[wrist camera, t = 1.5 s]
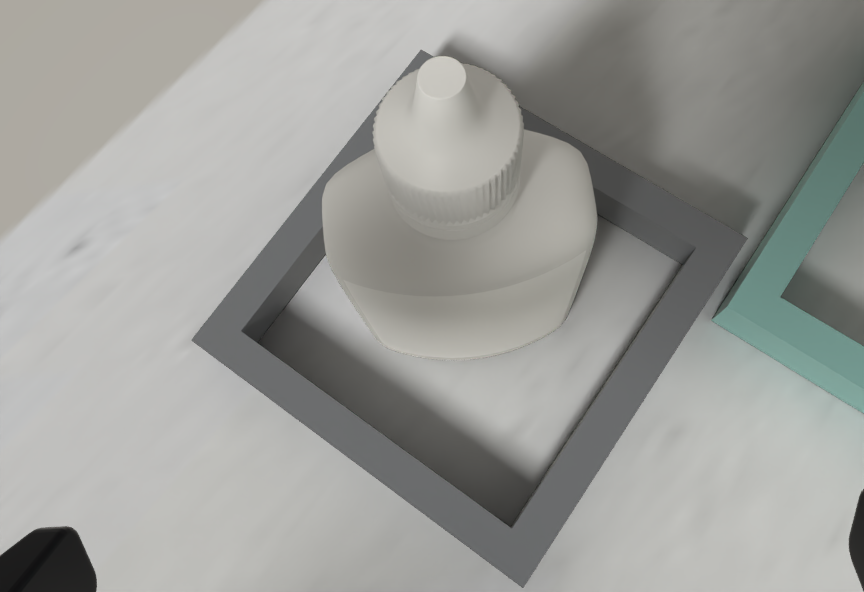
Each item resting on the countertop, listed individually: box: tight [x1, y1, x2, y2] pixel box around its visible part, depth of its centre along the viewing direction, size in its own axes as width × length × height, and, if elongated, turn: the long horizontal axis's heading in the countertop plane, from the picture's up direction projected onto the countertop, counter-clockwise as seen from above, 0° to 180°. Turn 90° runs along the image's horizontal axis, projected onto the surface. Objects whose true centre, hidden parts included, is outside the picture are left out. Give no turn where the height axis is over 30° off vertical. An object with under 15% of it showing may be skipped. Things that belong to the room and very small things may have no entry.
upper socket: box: [192, 50, 748, 588], centre depth 21 cm, size 11×11×2 cm
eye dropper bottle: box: [322, 56, 597, 360], centre depth 16 cm, size 4×6×12 cm
